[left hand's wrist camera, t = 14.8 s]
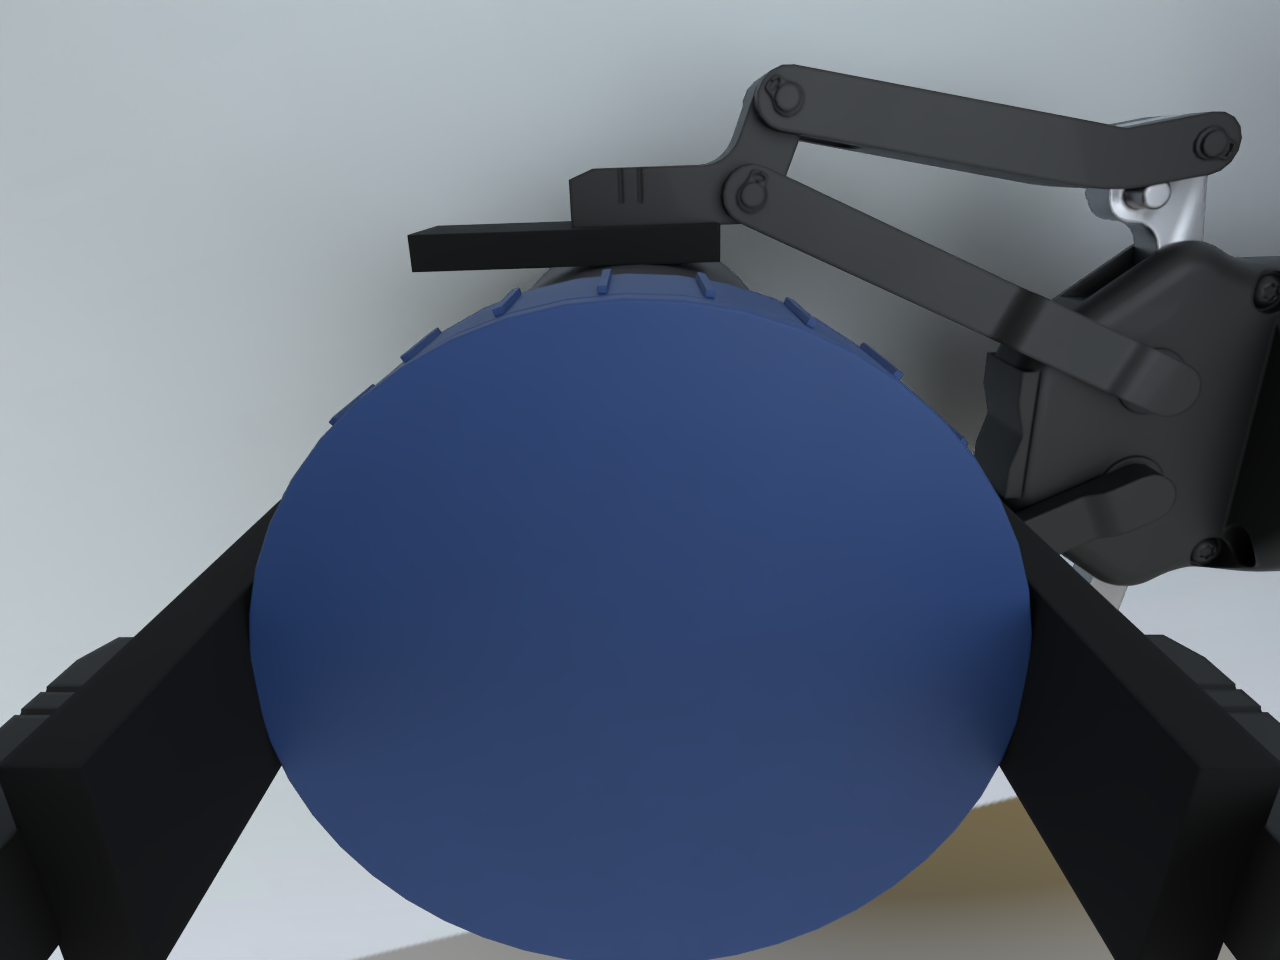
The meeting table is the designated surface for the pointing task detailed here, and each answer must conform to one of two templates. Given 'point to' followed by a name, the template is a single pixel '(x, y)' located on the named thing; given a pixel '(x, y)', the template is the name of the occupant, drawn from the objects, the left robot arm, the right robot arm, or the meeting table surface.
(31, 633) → the meeting table surface
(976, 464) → the lid
